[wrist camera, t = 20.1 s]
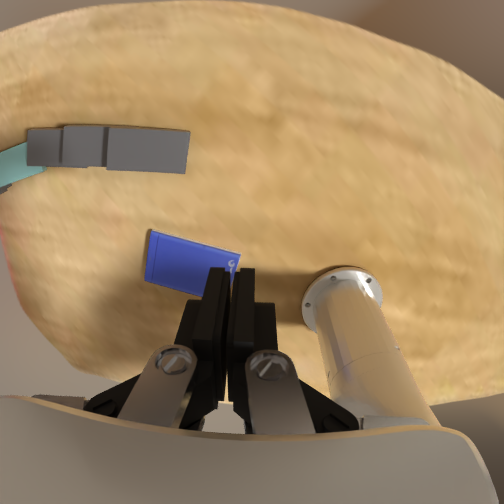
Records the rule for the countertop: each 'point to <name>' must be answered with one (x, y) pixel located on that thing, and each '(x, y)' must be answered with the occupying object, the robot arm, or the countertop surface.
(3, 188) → the tile
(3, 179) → the tile
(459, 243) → the countertop surface
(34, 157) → the tile
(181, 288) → the hard drive
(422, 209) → the countertop surface
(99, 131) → the tile
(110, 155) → the tile
